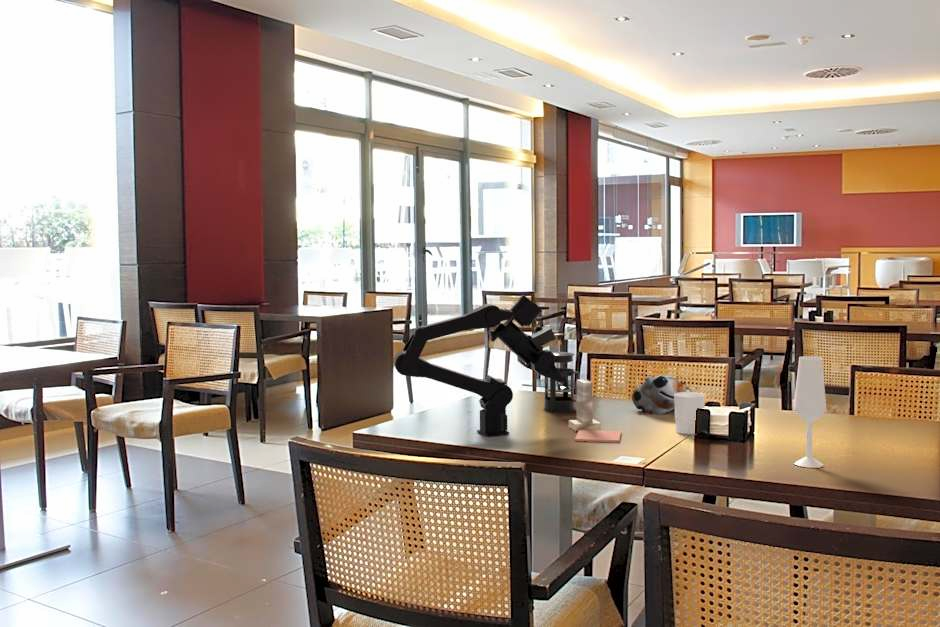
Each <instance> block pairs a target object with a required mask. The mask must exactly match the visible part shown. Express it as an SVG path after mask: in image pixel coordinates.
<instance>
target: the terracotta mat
mask: <svg viewBox="0 0 940 627" xmlns="http://www.w3.org/2000/svg"><path fill="white" fill-rule="evenodd" d="M621 436H622V430H601V431H599V430H579V431H578V432H576V436H575V438H574V441H575V442H584V441H586V443H587V442H589V443H590V442H591V443H614V444H615V443H616V444H617V443H618V444H619V443H620V440H621Z"/></svg>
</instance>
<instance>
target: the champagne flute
mask: <svg viewBox="0 0 940 627" xmlns="http://www.w3.org/2000/svg"><path fill="white" fill-rule="evenodd" d="M796 374H797V375H796V382H795V383H796V384H795V390H794V391H795V392H794V398H793V399H794V400H793V409H794V411H795V412H796V414H797V415H798V416H799V417H800V418H801V419H802V420H804V422H806V435H805V437H806V439H805V440H806V441H805V445H806V446H805V447H806V448H805V456H804V457H802V458H800V459H798V460H797V461H795V463H794V462H793V463H794V464H795V465H798V466H802V467H803V466H804V467H820V466H822V465H824V464H823V463H822V462H820V461H818V460H817V459H816V458H814V456H813V422H815V421H817V420H818V419H819V418H821V417H822V416H823V414H824V413H825V412H826V410H827V401H826V390H825V377H824V376H825V375H824V366H823V357H820V356H805V355H804V356H799V358H798V366H797V372H796Z"/></svg>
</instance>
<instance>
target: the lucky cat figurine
mask: <svg viewBox="0 0 940 627" xmlns="http://www.w3.org/2000/svg"><path fill="white" fill-rule="evenodd" d="M679 392H692V388H691V387H689V386H687V383H686V382H684V381H680V380H678V379H677V378H676V377H675V376H672V375H669V374H666V375H665V374H660V375H654V376H650V375H648V376H647V377H646V380H645V381H644V382H643V383H642V384H641V385H639V386H637V387H635V388H634V390H633V392H632V394H631V400H632V403H633V405H634V407H636V409H637V410H641V411H642V413H644V414H646V415H661V416H663V415H664V414H666V413H667V412H668V413H669V412H671V411H673V410H674V411H675V408H674V394H675V393H679Z"/></svg>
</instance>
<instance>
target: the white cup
mask: <svg viewBox="0 0 940 627" xmlns="http://www.w3.org/2000/svg"><path fill="white" fill-rule="evenodd" d="M705 401H706V394H705V393H702V392H694V391H691V392H679V393H675V394H674V408H675V409H674V420H675V432H676V433H677V434H681V435H688V436H689V435H695V434H694V433H695V420H696V410H697V408H704V409H705V403H706V402H705Z"/></svg>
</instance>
